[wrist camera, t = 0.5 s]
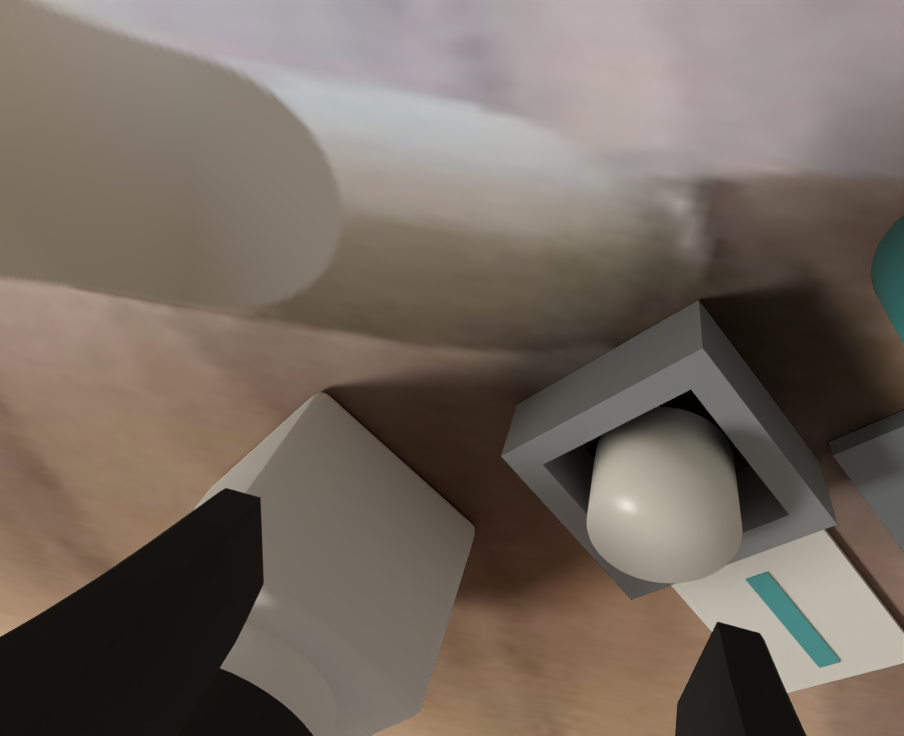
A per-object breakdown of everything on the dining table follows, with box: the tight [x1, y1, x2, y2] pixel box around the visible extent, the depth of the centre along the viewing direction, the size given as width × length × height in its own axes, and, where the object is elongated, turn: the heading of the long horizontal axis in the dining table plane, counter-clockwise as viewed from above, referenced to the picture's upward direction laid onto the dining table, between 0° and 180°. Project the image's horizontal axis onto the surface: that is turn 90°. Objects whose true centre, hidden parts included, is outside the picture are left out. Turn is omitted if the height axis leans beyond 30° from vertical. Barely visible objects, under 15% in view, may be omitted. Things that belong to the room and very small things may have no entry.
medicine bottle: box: [177, 392, 475, 736], centre depth 21 cm, size 7×7×12 cm
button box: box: [501, 300, 837, 600], centre depth 20 cm, size 6×6×2 cm
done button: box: [587, 407, 742, 583], centre depth 19 cm, size 4×4×3 cm
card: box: [671, 529, 904, 693], centre depth 23 cm, size 6×5×1 cm
